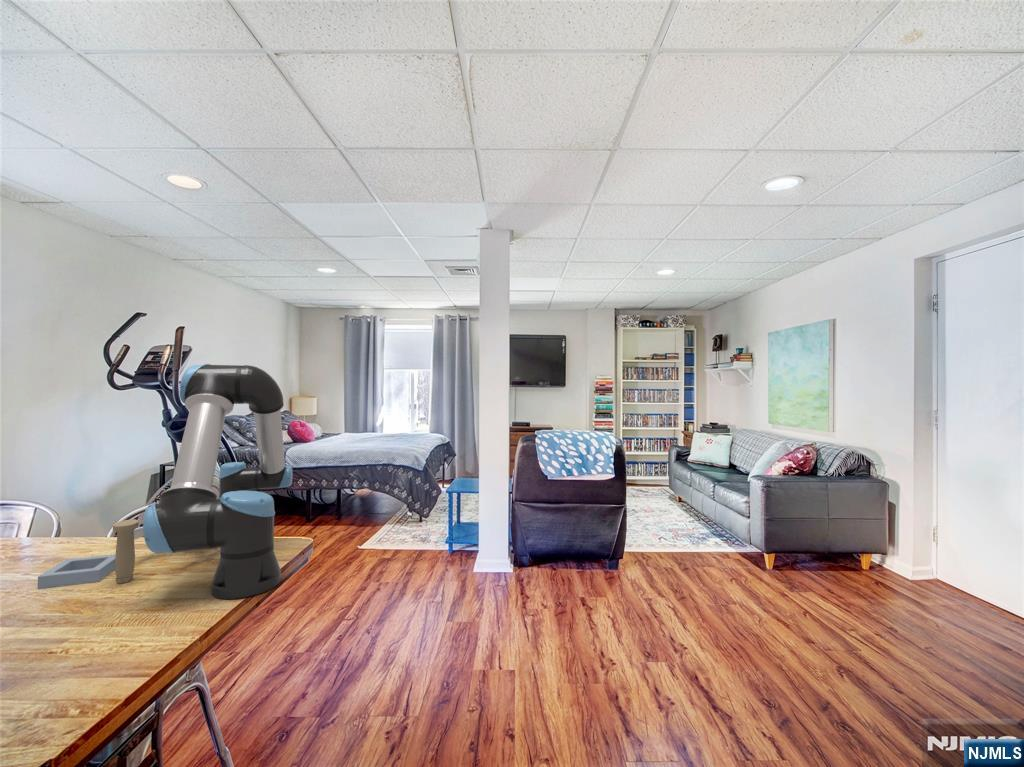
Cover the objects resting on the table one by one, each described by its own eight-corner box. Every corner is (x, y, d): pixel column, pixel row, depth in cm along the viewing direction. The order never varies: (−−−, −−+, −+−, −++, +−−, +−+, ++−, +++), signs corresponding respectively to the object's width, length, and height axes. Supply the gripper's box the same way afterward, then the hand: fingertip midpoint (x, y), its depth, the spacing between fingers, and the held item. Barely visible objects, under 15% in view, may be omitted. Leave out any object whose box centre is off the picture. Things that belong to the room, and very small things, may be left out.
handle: (109, 588, 109) (111, 527, 109) (114, 579, 114) (115, 521, 115) (135, 583, 112) (136, 524, 112) (138, 574, 117) (139, 518, 117)
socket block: (99, 581, 113) (99, 569, 113) (37, 589, 108) (37, 576, 108) (121, 564, 124) (121, 553, 124) (66, 570, 120) (66, 559, 120)
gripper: (244, 530, 138) (186, 555, 117) (173, 527, 142) (105, 550, 121) (244, 506, 139) (187, 527, 118) (174, 503, 142) (105, 523, 121)
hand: (145, 539), depth 119 cm, fingers open, 13 cm apart
